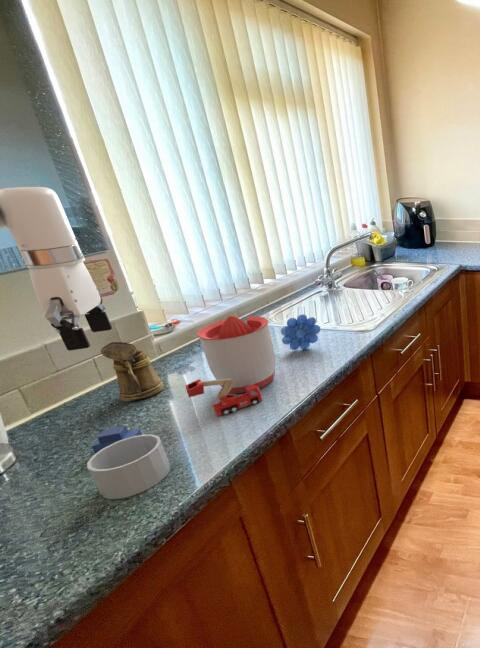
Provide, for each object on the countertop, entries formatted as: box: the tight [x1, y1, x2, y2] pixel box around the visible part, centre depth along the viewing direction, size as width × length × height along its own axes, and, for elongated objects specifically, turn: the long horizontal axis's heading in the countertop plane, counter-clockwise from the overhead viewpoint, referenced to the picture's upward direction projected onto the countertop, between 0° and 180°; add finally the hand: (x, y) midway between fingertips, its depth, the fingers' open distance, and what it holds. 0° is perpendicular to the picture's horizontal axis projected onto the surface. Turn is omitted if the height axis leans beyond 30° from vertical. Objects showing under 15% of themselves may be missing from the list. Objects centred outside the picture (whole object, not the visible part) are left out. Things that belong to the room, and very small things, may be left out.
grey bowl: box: [86, 434, 172, 500], centre depth 76 cm, size 10×10×6 cm
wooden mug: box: [100, 341, 165, 402], centre depth 102 cm, size 9×14×18 cm, turn 35°
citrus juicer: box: [196, 315, 276, 394], centre depth 108 cm, size 16×17×20 cm
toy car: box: [91, 424, 143, 455], centre depth 85 cm, size 7×3×4 cm, turn 113°
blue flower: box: [280, 313, 321, 351], centre depth 130 cm, size 12×7×12 cm, turn 109°
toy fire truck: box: [185, 378, 263, 417], centre depth 97 cm, size 3×14×10 cm, turn 134°
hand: (91, 339), depth 82 cm, fingers open, 9 cm apart
